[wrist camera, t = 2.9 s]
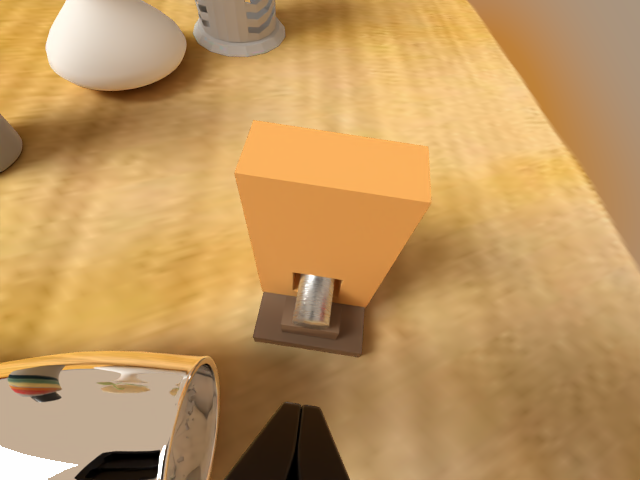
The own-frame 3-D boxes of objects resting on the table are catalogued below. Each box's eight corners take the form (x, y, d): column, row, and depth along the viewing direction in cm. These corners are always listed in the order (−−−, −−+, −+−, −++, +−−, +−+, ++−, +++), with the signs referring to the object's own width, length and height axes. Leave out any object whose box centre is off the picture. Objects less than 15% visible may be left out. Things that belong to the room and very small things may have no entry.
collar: (365, 307, 18) (431, 203, 10) (262, 291, 18) (234, 172, 10) (368, 269, 19) (428, 146, 11) (271, 254, 19) (253, 120, 11)
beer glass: (-160, 545, 13) (205, 534, 14) (-538, 635, 7) (133, 609, 8) (-58, 367, 17) (228, 366, 18) (-253, 330, 11) (190, 331, 12)
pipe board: (358, 357, 18) (378, 336, 14) (223, 336, 18) (201, 309, 14) (370, 181, 25) (386, 130, 20) (272, 166, 25) (267, 112, 20)
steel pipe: (328, 331, 16) (331, 321, 15) (291, 326, 16) (291, 315, 15) (349, 158, 22) (353, 137, 21) (322, 154, 22) (324, 133, 21)
